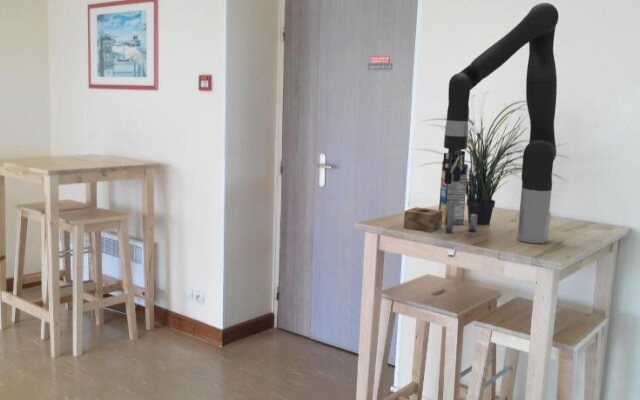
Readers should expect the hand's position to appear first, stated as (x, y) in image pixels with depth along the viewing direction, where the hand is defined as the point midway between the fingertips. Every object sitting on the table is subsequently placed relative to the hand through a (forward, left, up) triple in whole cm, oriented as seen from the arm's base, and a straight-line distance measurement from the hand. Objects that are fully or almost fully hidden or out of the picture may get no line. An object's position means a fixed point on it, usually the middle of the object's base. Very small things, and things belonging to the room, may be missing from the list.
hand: (452, 182), depth 209 cm
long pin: (0, 0, -17) cm, 17 cm away
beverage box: (+6, -18, -17) cm, 26 cm away
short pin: (-6, -7, -17) cm, 20 cm away
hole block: (+10, -1, -17) cm, 20 cm away
